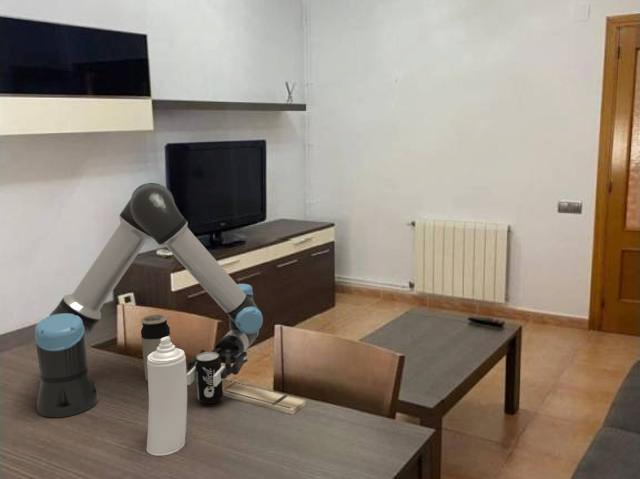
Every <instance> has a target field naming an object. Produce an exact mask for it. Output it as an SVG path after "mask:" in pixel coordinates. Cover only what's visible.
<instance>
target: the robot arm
mask: <svg viewBox="0 0 640 479" xmlns="http://www.w3.org/2000/svg"><path fill="white" fill-rule="evenodd" d="M118 217H119V222H120V224H119V225H118V227H117V228H116V229H115V231H114V232H113V234H112V235H111V237H110V239H108V241H107V242H106V244H105V246H104V247H103V248H102V250H101V251H100V253H99V255H98V256H97V258H96V259H95V260H94V262H93V263H92V265H91V266H90V267H89V270H88V271H87V272H86V274H85V275H84V277H82V279H81V281H80V282H79V283H78V285H77V287H76V288H75V289H74V291H73V292H72V293H71V294H65V295H64V296H63V297H62V299H61V300H60V302H59V303H58V305H57V306H56V307H55V308H54V309H53V310H52V311H51V312H50V314H49V316H47V317H45V318H42V319H41V320H39V322H38V323H37V324H35V327H34V328H35V329H34V340H35V344H36V353H37V360H38V368H39V374H40V385H39V390H38V395H37V399H36V408H37V413H38V414H39V415H40V416H43V417H46V418H64V417H71V416H74V415H78V414H81V413H83V412H86V411H88V410H90V409H92V408H93V407H94V406H95V405H97V403H98V401H99V392H98V389H97V387H96V385H95V383H94V380H93V378H92V377H91V375H90V372H89V365H88V364H89V363H88V357H87V342H88V339H89V336H90V334H92V331H94V329H95V327H96V325H97V324H98V323H99V321H100V320H101V319H102V313H101V309H102V308H103V306H104V304H105V303H106V301H107V300H108V298H109V297H110V295H111V294H112V293H113V291H114V290H115V288H116V287H117V285H118V284H119V282H120V281H121V279H122V277H124V275H125V273H126V272H127V271H128V269H129V268H130V266H131V265H132V263H133V262H134V260H135V259H136V257H137V256H138V254H139V253H140V251H141V250H142V249H143V247H144V245H145V244H146V243H147V241H149V240H150V241H151V240H154V241H155V242H156V243H157V244H158V246H162V247H165V248H167V249H168V250H169V251H170V253H171V254H172V255H173V256H174V257H175V258H176V260H177V261H178V262H179V263H180V264H181V265H182V266H183V267H184V268H185V270H186V271H187V272H188V273H189V274H190V275H191V276H192V277H193V278H194V279H195V281H196V282H198V284H199V285H200V286H201V287H202V288H203V290H205V292H206V293H207V294H208V295H209V296H210V297H211V298H212V299H213V300H214V301H215V302H216V304H217V305H218V307H220V308H221V309H222V310H223V311H224V312H225V313H226V315H227V316H228V318H229V319H228V323H229V331H228V332H227V333H226V334H225V335H224V336H223V337H222V338H221V339H220V340H219V341H218V342H217V343H216V346H215V347H214V349H212V350H210V352H215V353H218V355H219V358H220V360H221V364H225V365H221V368H220V369H219V370H218V371H217V372H216V373H215V374H214V376H213V385H214V386H217V385H218V384H219V383H220V382H221V380H222V379H223V380H226V379H227V377H228V376H230V375H231V374H233V375H234V376H237V375H238V374H239V372H240V371H241V369H242V367H243V365H244V364H245V363H247V362H248V352H247V350H248V349H249V347H251V345H253V344H254V343H255V341H256V339H257V337H258V336H259V334H260V329H261V327H262V326H263V322H264V317H263V315H262V314H263V313H262V312H261V310H260V309H259V307H258V306H257V304H256V302H255V300H254V293H253V291H254V290H253V286H252V285H251V284H247V283H238V284H237V283H236V282H235V280H234V279H233V278H232V277H231V276H230V274H228V272H227V271H226V270H225V269H224V268H223V266H221V265H220V263H219V262H218V260H216V258H214V256H213V255H212V253H210V251H209V250H207V248H206V247H205V246H204V245H203V244H202V242H201V241H200V240H199V239H198V238H197V236H195V235H194V233H193V232H192V231H191V230H190V228H189V227H188V220H186V218H185V217H184V216H183V214H181V212H180V210H179V208H178V207H177V205H176V203H175V199H174V195H173V193H172V192H171V191H170V190H169V189H168V188H167V187H166V186H164V185H163V184H160V183H157V182H147V183H146V182H145V183H143V184H141V185H139V186H138V187H136V189H134V191H133V192H132V194H131V197H130V199H129V201H127V203H126V205H125V207H124V208H123V209H122V211H121V212H120V214H119V215H118ZM204 352H206V350H205V349H201V350H200V352H199V353H198V354H197V355H199V354H201V353H204ZM197 355H196V356H193V358H191V360H189V361H188V362H187V372H186V373H187V386H188V385H189V386H190V385H191V384H192V383H193V382H194V381H195V380H196V369H195V361H196V357H197Z"/></svg>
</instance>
